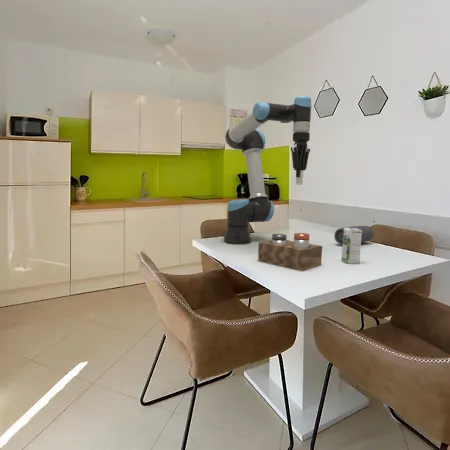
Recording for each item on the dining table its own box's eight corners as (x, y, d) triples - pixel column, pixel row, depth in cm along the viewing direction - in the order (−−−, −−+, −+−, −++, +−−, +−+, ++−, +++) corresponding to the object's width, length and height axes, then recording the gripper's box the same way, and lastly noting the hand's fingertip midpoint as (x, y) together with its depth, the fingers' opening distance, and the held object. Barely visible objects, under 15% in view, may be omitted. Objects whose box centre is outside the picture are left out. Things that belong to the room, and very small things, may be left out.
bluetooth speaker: (359, 241, 199) (360, 224, 198) (373, 243, 191) (375, 226, 190) (332, 244, 187) (333, 226, 185) (347, 247, 179) (348, 228, 178)
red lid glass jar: (290, 258, 141) (291, 234, 139) (298, 256, 145) (299, 232, 143) (303, 260, 136) (304, 235, 135) (311, 258, 141) (312, 234, 139)
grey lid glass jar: (268, 257, 148) (269, 234, 147) (276, 255, 153) (277, 233, 151) (280, 260, 144) (280, 236, 143) (288, 257, 149) (289, 235, 147)
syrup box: (340, 260, 150) (343, 227, 148) (354, 260, 151) (356, 227, 149) (346, 263, 145) (348, 229, 143) (360, 263, 145) (362, 229, 143)
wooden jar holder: (258, 260, 148) (258, 242, 146) (277, 255, 157) (278, 238, 156) (302, 271, 132) (303, 250, 131) (321, 264, 142) (322, 245, 141)
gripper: (300, 130, 150) (298, 184, 153) (316, 133, 159) (313, 184, 162) (286, 131, 155) (284, 184, 158) (302, 134, 164) (299, 184, 167)
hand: (299, 184), depth 160 cm, fingers closed
